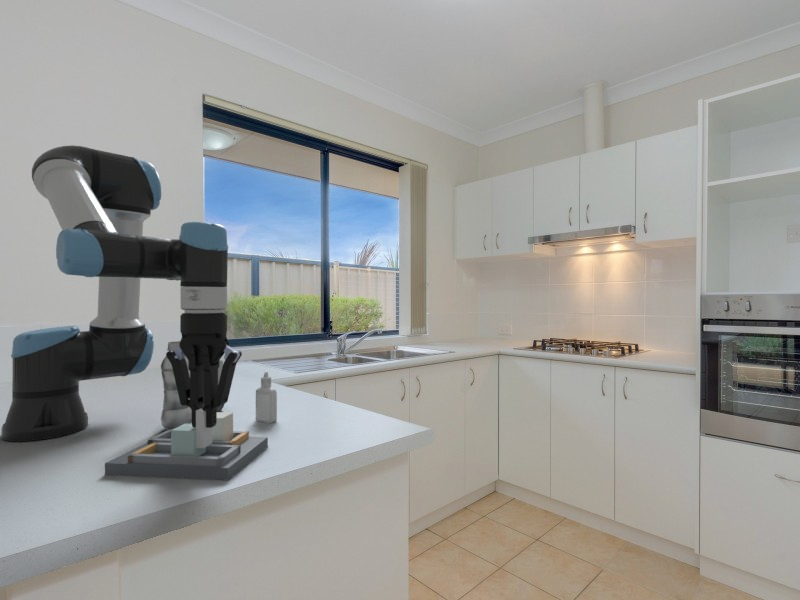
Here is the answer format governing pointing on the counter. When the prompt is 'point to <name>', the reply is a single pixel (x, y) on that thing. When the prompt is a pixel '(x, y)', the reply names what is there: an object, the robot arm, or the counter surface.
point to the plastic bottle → (173, 396)
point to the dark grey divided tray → (188, 458)
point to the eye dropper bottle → (266, 401)
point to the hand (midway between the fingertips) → (204, 445)
